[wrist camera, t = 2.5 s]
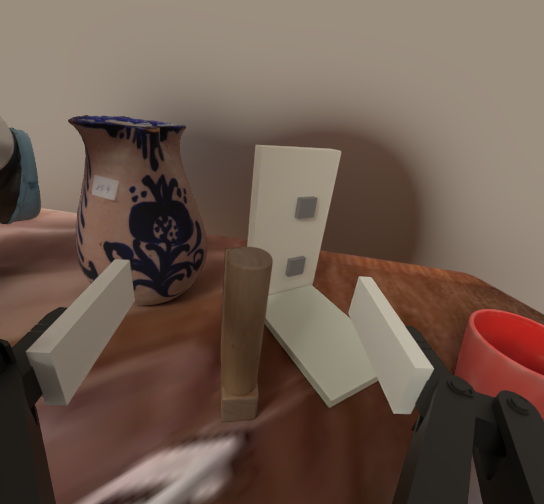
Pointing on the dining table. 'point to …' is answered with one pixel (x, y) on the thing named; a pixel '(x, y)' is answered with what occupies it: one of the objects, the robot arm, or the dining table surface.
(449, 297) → the dining table surface
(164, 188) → the ceramic pitcher
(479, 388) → the flower pot
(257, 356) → the wooden block
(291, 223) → the white l-shaped bracket
